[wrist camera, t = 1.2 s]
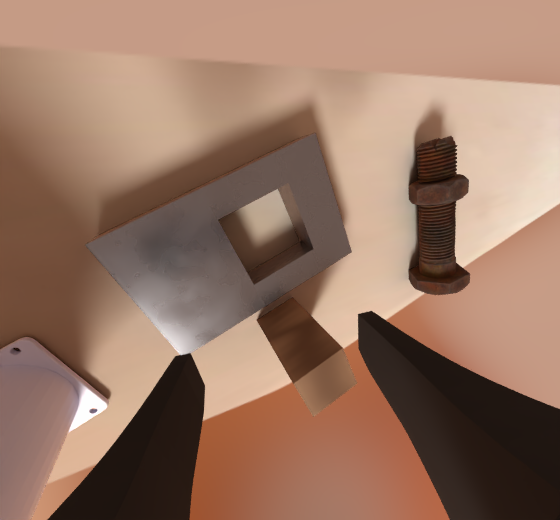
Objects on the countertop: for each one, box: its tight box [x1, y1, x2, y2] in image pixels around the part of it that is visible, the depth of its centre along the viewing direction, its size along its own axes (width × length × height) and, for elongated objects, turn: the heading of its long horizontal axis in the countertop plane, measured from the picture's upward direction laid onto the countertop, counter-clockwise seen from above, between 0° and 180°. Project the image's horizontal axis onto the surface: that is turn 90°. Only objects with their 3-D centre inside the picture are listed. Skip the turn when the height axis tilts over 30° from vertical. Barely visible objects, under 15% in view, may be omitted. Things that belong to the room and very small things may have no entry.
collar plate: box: [85, 133, 352, 355], centre depth 19 cm, size 16×10×2 cm, turn 113°
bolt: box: [409, 136, 470, 295], centre depth 25 cm, size 6×5×15 cm
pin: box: [257, 297, 357, 417], centre depth 20 cm, size 4×4×8 cm
